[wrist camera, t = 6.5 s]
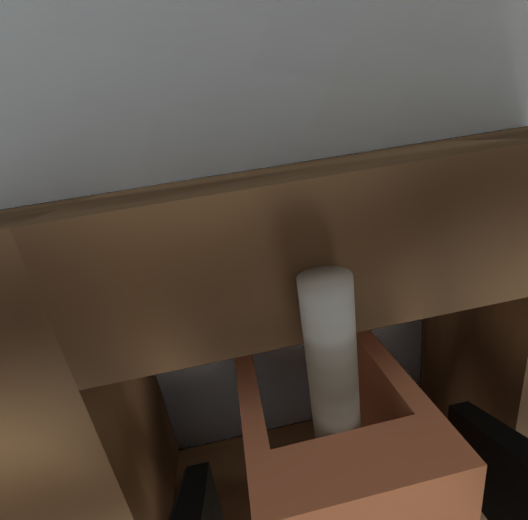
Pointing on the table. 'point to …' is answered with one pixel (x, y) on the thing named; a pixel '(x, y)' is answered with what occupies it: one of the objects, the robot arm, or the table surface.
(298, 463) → the u clip
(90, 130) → the table surface
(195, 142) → the table surface
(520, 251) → the wooden frame tray
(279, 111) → the table surface
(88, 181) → the table surface
